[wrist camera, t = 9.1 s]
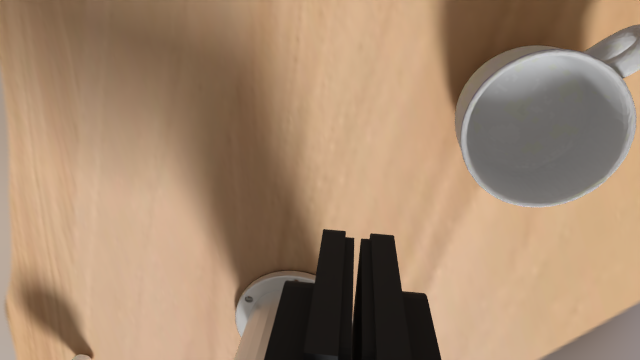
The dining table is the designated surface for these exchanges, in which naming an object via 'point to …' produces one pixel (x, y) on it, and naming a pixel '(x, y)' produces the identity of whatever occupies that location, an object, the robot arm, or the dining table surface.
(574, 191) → the teacup
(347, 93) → the dining table surface
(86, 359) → the lightbulb
